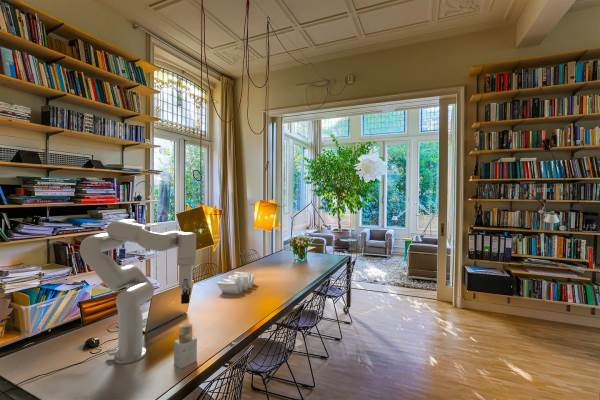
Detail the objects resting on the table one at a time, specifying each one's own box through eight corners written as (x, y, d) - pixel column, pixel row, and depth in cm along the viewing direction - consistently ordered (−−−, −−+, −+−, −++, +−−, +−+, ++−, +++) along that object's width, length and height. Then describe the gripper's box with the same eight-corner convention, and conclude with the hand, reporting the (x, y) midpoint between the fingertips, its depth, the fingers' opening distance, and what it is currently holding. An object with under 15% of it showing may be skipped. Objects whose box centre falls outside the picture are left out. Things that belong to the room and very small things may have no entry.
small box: (190, 356, 132) (190, 333, 132) (197, 361, 129) (197, 338, 128) (173, 364, 126) (173, 340, 126) (179, 369, 123) (180, 345, 122)
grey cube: (178, 343, 124) (178, 329, 123) (179, 337, 129) (179, 323, 129) (191, 341, 125) (192, 327, 125) (192, 335, 131) (192, 322, 130)
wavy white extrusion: (232, 297, 206) (232, 283, 205) (214, 293, 213) (214, 279, 212) (259, 284, 237) (259, 271, 237) (242, 281, 244) (242, 268, 244)
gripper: (179, 256, 134) (178, 293, 134) (175, 266, 117) (174, 307, 118) (196, 255, 136) (195, 291, 136) (195, 265, 119) (194, 306, 120)
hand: (186, 299), depth 127 cm, fingers open, 9 cm apart
